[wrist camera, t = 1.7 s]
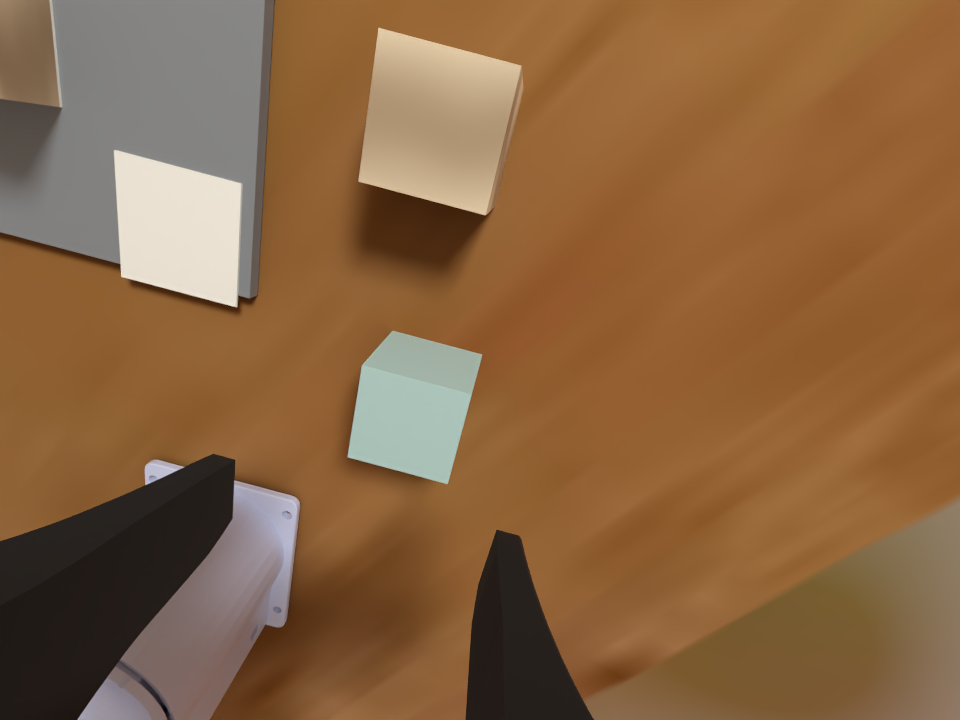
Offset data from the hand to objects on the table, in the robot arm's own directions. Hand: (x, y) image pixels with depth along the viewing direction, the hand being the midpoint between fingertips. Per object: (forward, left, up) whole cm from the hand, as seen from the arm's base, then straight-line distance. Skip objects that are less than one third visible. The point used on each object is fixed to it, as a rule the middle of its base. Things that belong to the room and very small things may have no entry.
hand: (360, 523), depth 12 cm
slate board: (+8, +15, -9) cm, 19 cm away
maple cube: (+10, +1, -9) cm, 14 cm away
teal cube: (0, 0, -9) cm, 9 cm away
